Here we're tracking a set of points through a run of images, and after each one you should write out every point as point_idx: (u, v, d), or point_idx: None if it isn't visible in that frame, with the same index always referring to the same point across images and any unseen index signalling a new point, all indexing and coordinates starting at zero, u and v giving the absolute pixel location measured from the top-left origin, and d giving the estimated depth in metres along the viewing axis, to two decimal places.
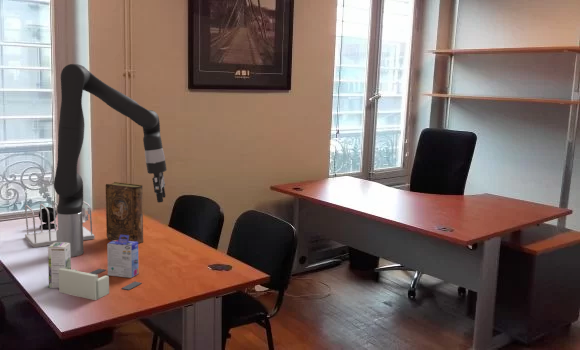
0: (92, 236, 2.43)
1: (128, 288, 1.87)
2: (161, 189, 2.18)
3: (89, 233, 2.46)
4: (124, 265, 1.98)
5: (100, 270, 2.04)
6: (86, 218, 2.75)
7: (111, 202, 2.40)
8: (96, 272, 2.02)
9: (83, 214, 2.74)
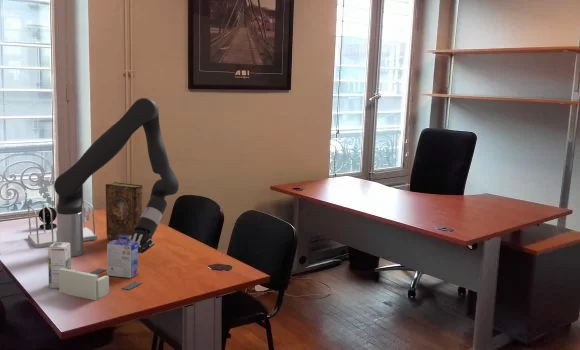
0: (95, 236, 2.42)
1: (128, 288, 1.87)
2: None
3: (92, 233, 2.45)
4: (123, 265, 1.97)
5: (100, 270, 2.04)
6: (87, 218, 2.75)
7: (111, 202, 2.40)
8: (96, 272, 2.02)
9: None
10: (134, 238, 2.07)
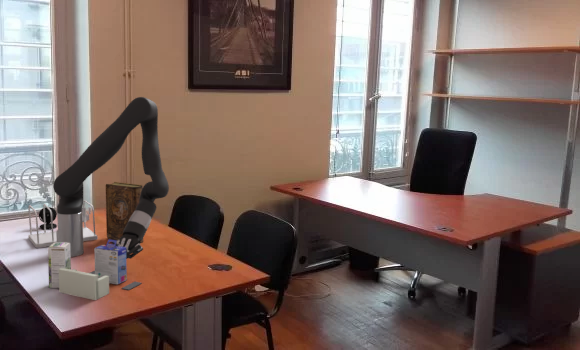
0: (95, 236, 2.42)
1: (128, 288, 1.87)
2: None
3: (92, 234, 2.45)
4: (110, 271, 1.91)
5: None
6: (87, 218, 2.75)
7: (111, 202, 2.40)
8: None
9: None
10: (122, 243, 2.01)
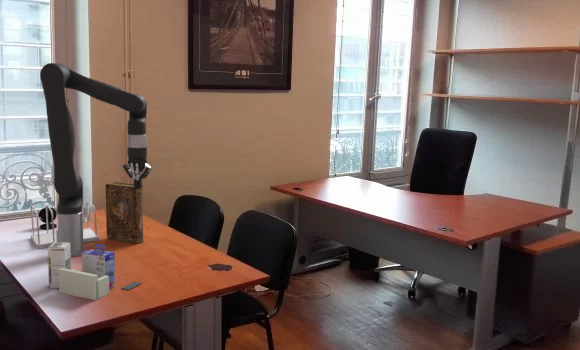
0: (97, 237, 2.40)
1: (128, 288, 1.87)
2: None
3: (94, 235, 2.43)
4: (98, 277, 1.85)
5: None
6: (88, 217, 2.76)
7: (111, 202, 2.40)
8: None
9: (85, 214, 2.75)
10: (132, 167, 2.18)
